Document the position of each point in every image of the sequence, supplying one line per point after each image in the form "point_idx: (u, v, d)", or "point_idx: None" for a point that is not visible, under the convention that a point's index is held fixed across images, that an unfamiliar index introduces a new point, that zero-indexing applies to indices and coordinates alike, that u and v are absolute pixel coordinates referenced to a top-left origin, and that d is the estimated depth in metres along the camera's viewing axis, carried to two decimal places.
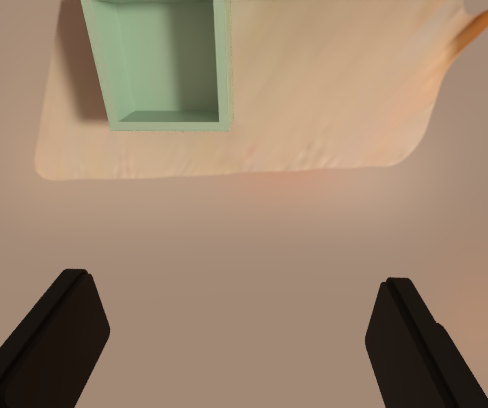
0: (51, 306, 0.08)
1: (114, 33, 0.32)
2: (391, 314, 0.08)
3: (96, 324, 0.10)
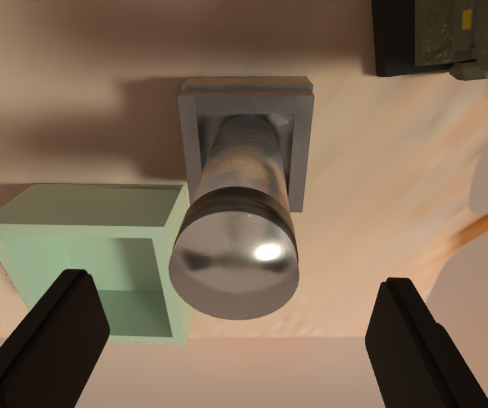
0: (51, 306, 0.08)
1: (43, 235, 0.26)
2: (391, 314, 0.08)
3: (96, 323, 0.10)
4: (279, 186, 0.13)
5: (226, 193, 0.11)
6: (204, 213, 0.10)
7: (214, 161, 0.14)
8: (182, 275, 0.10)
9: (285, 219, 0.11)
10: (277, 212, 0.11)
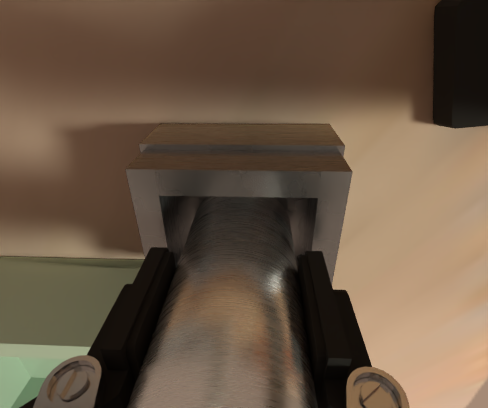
0: (151, 278, 0.09)
1: None
2: (302, 281, 0.10)
3: None
4: (303, 407, 0.06)
5: None
6: None
7: (174, 320, 0.07)
8: None
9: None
10: None
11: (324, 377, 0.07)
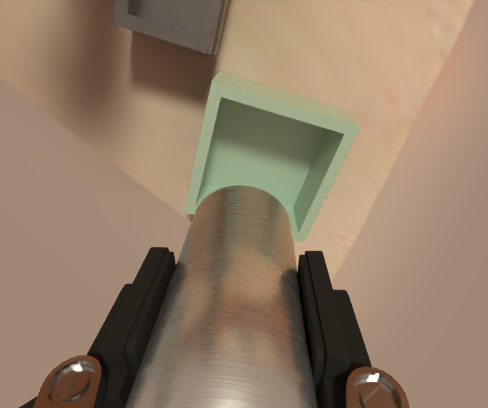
0: (151, 278, 0.09)
1: None
2: (302, 281, 0.10)
3: None
4: (302, 406, 0.06)
5: None
6: None
7: (173, 319, 0.07)
8: None
9: None
10: None
11: (324, 377, 0.07)
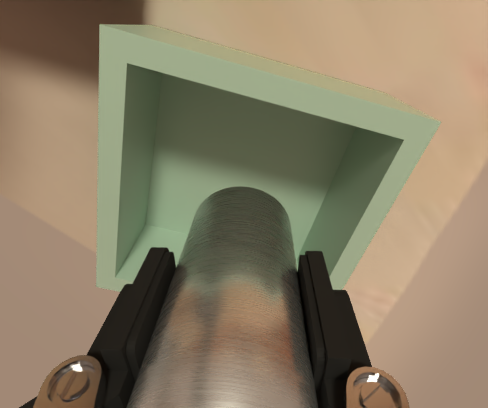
0: (151, 278, 0.09)
1: (179, 247, 0.20)
2: (302, 281, 0.10)
3: None
4: None
5: None
6: None
7: (174, 321, 0.07)
8: None
9: None
10: None
11: (324, 377, 0.07)
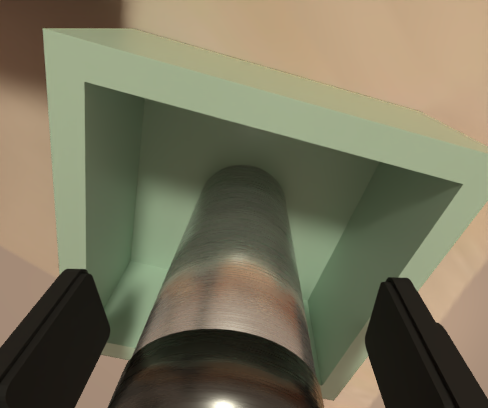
0: (51, 306, 0.08)
1: None
2: (391, 314, 0.08)
3: (96, 323, 0.10)
4: (292, 302, 0.08)
5: (195, 349, 0.06)
6: None
7: (188, 249, 0.09)
8: None
9: (311, 401, 0.05)
10: (294, 389, 0.05)
11: None
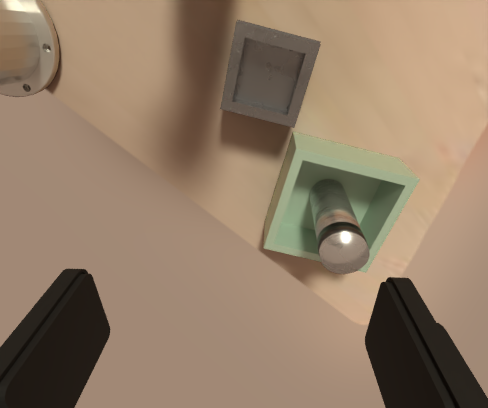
0: (51, 306, 0.08)
1: (294, 232, 0.40)
2: (391, 314, 0.08)
3: (96, 324, 0.10)
4: (356, 220, 0.30)
5: (339, 224, 0.29)
6: (334, 232, 0.28)
7: (324, 208, 0.32)
8: (325, 254, 0.28)
9: (362, 234, 0.28)
10: (359, 231, 0.28)
11: None
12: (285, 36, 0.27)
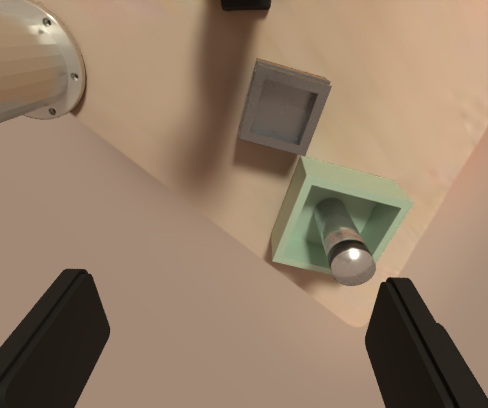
0: (51, 306, 0.08)
1: (298, 245, 0.43)
2: (391, 314, 0.08)
3: (96, 324, 0.10)
4: (361, 237, 0.34)
5: (348, 242, 0.32)
6: (345, 249, 0.31)
7: (332, 226, 0.36)
8: (337, 269, 0.32)
9: None
10: (366, 248, 0.32)
11: None
12: (301, 78, 0.30)
